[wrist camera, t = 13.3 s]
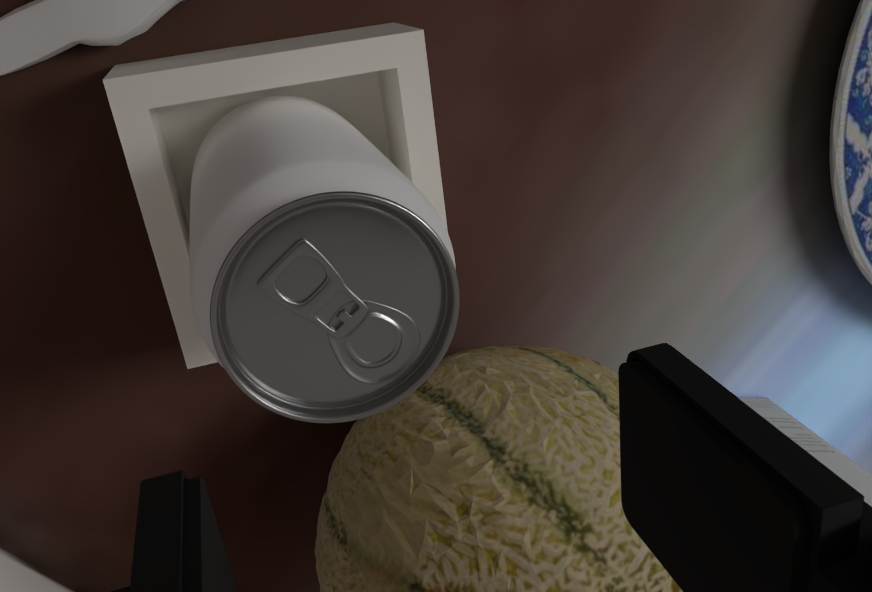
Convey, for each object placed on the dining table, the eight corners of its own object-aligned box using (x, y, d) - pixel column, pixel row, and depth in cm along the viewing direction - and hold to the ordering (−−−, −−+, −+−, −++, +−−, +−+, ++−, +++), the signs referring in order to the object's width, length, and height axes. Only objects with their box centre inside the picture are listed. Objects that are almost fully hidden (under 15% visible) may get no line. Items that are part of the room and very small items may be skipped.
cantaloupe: (229, 507, 33) (254, 865, 20) (415, 225, 31) (586, 418, 17) (488, 599, 40) (637, 915, 26) (659, 372, 37) (919, 595, 24)
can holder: (393, 22, 27) (423, 30, 24) (426, 267, 31) (456, 305, 28) (114, 64, 25) (102, 80, 22) (188, 321, 29) (187, 369, 26)
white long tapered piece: (237, -115, 25) (238, -119, 23) (276, -32, 26) (280, -30, 24) (-198, 88, 24) (-228, 99, 22) (-135, 162, 25) (-161, 178, 24)
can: (287, 301, 29) (340, 486, 19) (149, 187, 26) (120, 330, 16) (407, 181, 29) (530, 301, 18) (280, 52, 26) (341, 106, 15)
